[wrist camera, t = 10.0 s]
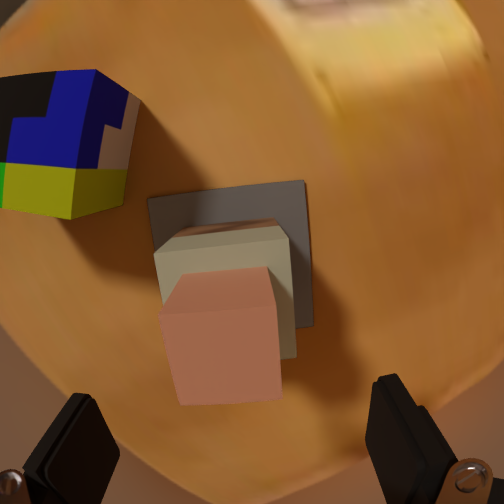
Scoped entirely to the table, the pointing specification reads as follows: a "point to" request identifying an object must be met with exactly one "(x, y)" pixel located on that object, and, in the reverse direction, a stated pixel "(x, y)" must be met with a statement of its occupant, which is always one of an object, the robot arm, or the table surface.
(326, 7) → the table surface
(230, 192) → the mat
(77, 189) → the puzzle toy
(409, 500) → the robot arm
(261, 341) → the terracotta block
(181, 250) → the tower top
